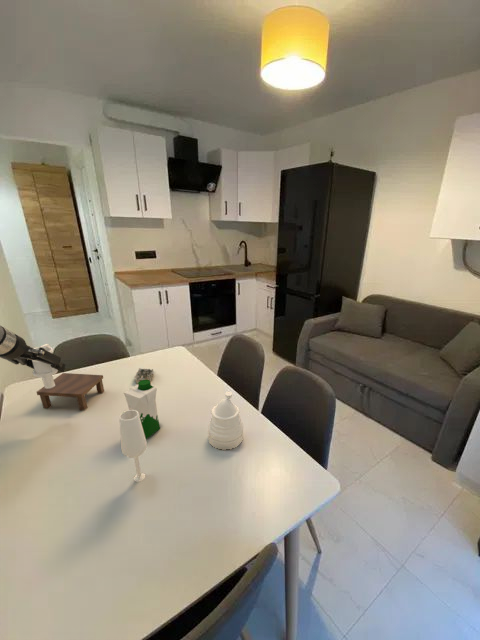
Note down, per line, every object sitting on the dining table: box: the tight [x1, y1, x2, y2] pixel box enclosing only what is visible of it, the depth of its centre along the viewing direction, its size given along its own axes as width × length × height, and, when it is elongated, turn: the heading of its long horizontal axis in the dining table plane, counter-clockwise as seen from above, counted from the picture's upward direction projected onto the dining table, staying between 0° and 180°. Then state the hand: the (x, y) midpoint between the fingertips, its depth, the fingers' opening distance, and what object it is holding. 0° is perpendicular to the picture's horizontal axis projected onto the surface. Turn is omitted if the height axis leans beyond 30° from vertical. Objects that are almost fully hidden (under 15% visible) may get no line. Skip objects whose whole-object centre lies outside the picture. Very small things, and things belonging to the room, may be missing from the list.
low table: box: [36, 372, 105, 411], centre depth 123 cm, size 18×16×8 cm
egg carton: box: [133, 367, 154, 385], centre depth 142 cm, size 11×8×4 cm
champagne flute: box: [118, 409, 148, 482], centre depth 83 cm, size 7×7×24 cm
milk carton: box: [123, 380, 161, 440], centre depth 104 cm, size 9×9×20 cm
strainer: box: [32, 343, 59, 389], centre depth 100 cm, size 7×7×15 cm
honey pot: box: [207, 391, 244, 451], centre depth 103 cm, size 13×13×18 cm
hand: (52, 367), depth 104 cm, fingers closed on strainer, 7 cm apart
